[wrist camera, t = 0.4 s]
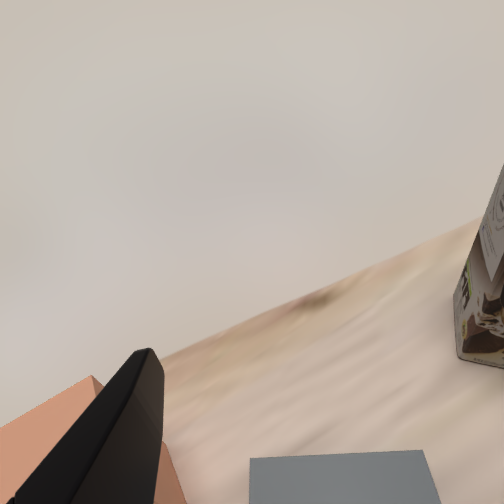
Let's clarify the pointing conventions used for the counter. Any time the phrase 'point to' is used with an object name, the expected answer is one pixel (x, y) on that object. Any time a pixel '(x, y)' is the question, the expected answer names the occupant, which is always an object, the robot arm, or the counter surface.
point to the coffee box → (483, 289)
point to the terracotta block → (51, 431)
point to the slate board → (343, 479)
